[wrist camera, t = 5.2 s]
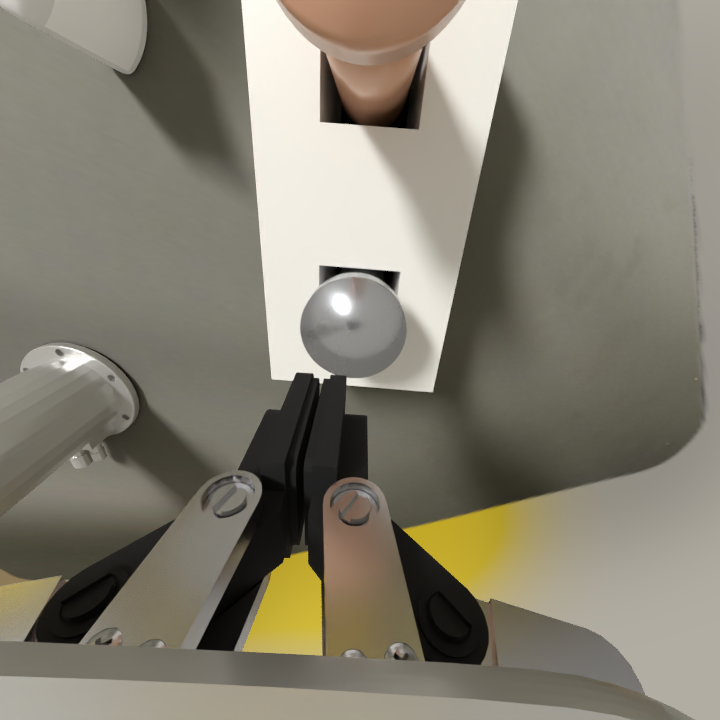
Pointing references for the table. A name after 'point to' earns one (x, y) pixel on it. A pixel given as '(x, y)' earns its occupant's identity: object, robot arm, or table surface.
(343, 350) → the grey plug
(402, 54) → the terracotta plug
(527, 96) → the table surface
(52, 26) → the eye dropper bottle
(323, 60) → the block
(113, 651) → the robot arm
